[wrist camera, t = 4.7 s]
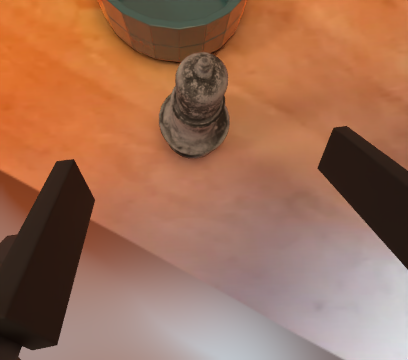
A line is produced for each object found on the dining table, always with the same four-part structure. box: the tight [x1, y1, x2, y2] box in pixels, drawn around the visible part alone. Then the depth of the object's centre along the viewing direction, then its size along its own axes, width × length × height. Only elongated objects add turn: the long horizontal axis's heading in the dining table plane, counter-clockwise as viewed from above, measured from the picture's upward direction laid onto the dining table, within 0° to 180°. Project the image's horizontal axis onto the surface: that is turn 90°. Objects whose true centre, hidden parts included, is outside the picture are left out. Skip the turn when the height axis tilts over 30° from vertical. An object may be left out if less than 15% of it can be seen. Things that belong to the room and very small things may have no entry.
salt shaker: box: [159, 52, 229, 158], centre depth 16 cm, size 6×6×12 cm
